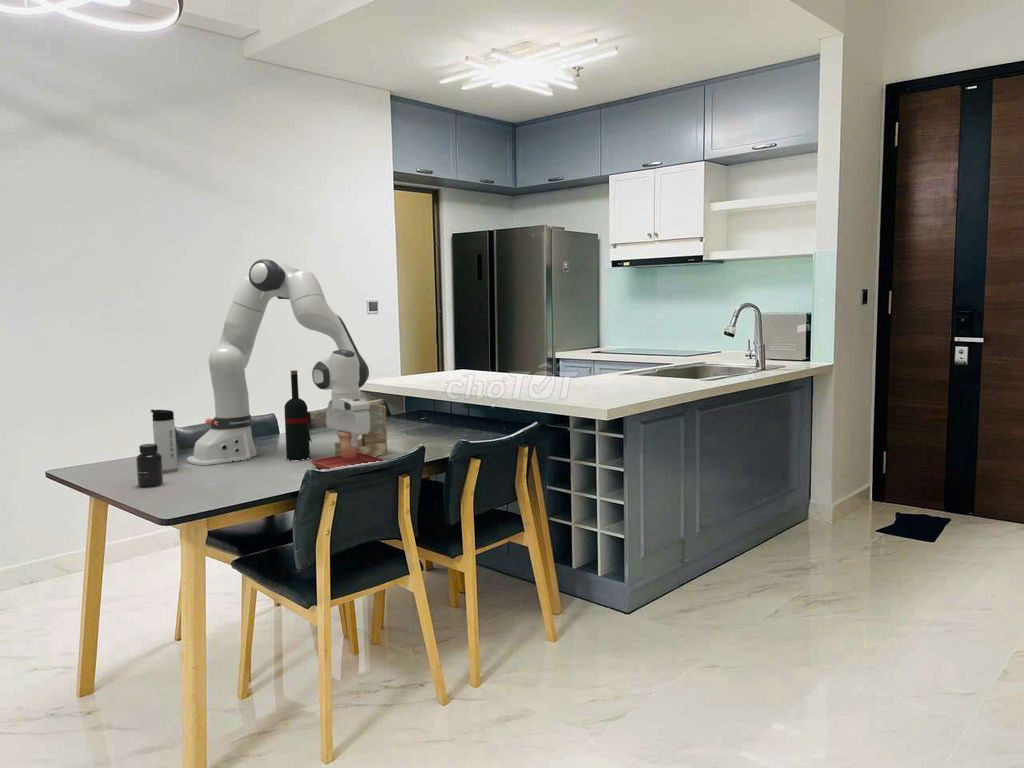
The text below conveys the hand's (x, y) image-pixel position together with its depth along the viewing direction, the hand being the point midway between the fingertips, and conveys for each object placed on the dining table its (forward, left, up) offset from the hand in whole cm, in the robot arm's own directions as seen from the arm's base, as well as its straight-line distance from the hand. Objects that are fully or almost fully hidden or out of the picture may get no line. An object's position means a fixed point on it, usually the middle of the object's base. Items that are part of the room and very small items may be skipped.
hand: (348, 445), depth 242 cm
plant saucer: (0, 0, -8) cm, 8 cm away
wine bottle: (-2, +27, -8) cm, 28 cm away
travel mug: (-41, +42, -8) cm, 59 cm away
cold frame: (+15, +16, -8) cm, 23 cm away
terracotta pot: (0, 0, -4) cm, 4 cm away
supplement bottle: (-51, +27, -8) cm, 58 cm away
